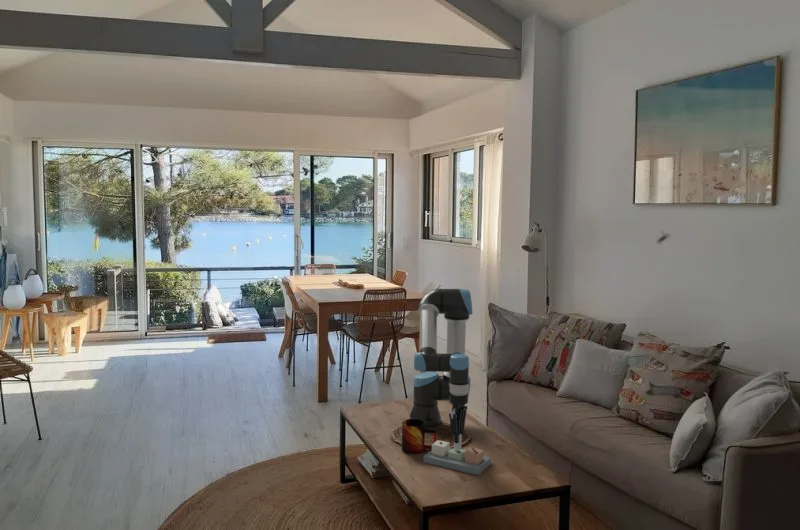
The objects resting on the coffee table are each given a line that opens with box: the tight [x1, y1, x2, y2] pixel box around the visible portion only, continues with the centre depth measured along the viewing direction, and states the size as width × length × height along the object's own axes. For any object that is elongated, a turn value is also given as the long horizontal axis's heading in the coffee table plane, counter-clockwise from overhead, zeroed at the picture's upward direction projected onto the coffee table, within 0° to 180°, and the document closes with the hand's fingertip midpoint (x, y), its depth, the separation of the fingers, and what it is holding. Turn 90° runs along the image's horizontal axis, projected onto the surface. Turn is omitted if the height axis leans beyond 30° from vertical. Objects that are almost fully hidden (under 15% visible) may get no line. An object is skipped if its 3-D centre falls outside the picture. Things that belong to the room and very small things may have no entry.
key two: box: [448, 447, 467, 461], centre depth 262 cm, size 6×6×4 cm
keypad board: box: [423, 447, 492, 476], centre depth 262 cm, size 13×24×2 cm, turn 60°
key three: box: [465, 447, 485, 465], centre depth 258 cm, size 6×6×4 cm
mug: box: [401, 418, 437, 456], centre depth 274 cm, size 10×14×12 cm
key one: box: [431, 439, 451, 457], centre depth 265 cm, size 6×6×4 cm
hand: (457, 449), depth 262 cm, fingers closed
